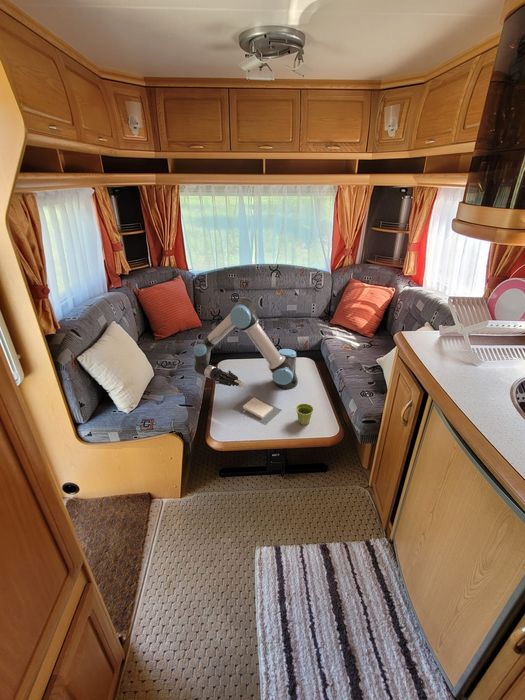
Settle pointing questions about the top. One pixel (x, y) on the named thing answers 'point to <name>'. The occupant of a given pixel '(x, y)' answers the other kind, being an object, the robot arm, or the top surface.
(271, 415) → the board
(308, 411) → the plant pot
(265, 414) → the tile
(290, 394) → the top surface
